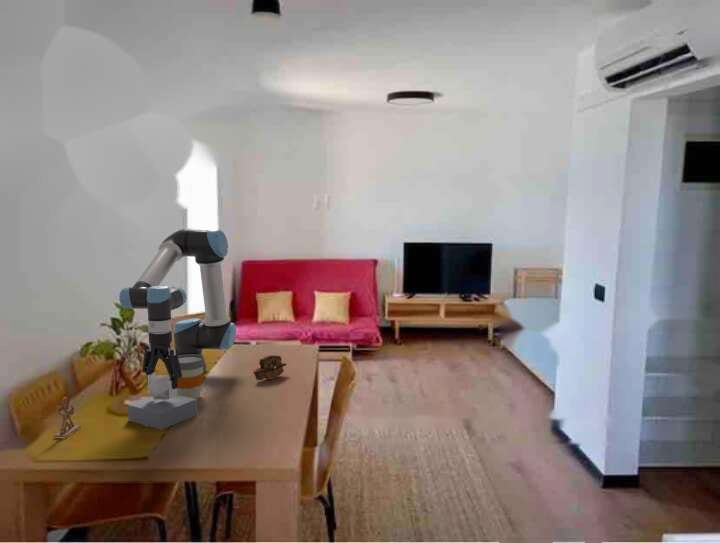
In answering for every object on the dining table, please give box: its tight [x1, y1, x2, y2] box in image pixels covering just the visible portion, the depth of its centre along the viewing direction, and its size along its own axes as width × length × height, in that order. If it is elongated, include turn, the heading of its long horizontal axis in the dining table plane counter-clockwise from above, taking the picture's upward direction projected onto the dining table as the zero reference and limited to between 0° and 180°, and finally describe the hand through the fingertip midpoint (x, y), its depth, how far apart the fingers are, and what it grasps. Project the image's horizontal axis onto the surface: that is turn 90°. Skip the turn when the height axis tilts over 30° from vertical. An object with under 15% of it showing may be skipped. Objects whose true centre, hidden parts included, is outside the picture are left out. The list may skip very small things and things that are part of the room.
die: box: [147, 374, 170, 400], centre depth 197 cm, size 8×9×10 cm
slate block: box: [127, 395, 198, 430], centre depth 198 cm, size 16×16×6 cm
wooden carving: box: [253, 354, 287, 381], centre depth 242 cm, size 16×5×10 cm, turn 143°
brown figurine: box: [53, 396, 81, 438], centre depth 184 cm, size 9×4×12 cm, turn 176°
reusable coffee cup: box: [173, 355, 205, 399], centre depth 219 cm, size 13×13×15 cm
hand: (162, 394), depth 197 cm, fingers open, 10 cm apart
